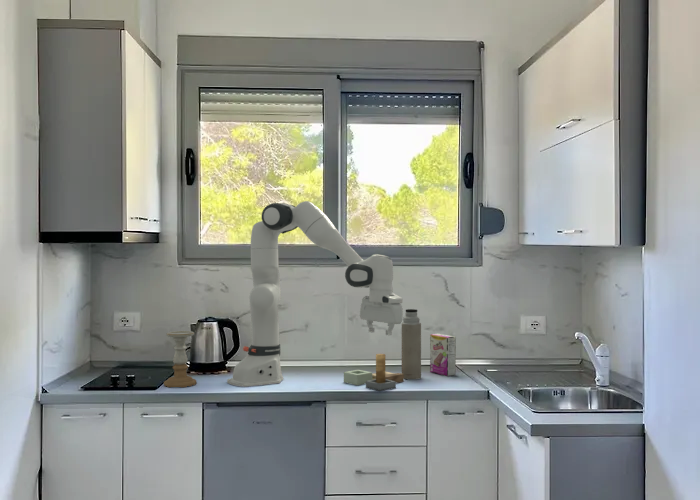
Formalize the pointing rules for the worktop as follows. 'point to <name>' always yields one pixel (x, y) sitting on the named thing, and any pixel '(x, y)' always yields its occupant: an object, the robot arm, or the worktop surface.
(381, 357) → the dowel
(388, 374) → the tan wooden block
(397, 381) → the bar
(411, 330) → the thermos bottle
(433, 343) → the candy bar box
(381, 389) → the tray
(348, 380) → the socket block
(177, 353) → the candle holder
